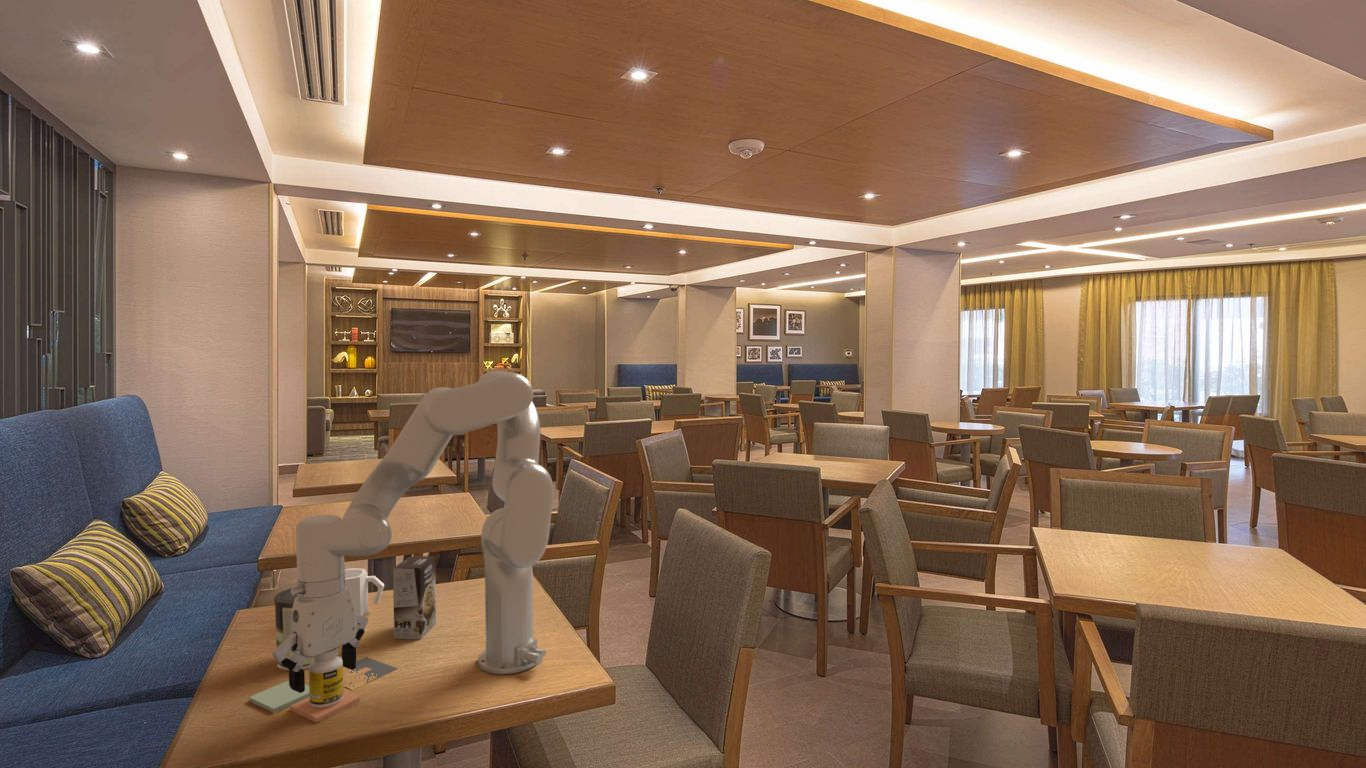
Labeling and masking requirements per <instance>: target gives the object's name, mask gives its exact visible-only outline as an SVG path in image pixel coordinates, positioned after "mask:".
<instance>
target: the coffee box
mask: <svg viewBox="0 0 1366 768" xmlns="http://www.w3.org/2000/svg"><path fill="white" fill-rule="evenodd" d="M392 572H393V573H392V575H393V576H392V579H393V580H392V581H393V582H392V583H393V585H392V587H393V589H392V590H393V593H392V594H393V598H392V599H393V639H394V640H395V639H396V640H398V639H399V640H421V639H422V638H424V636H426V634H427V633H429V631H431V630H432V628H434V626H435V625H436V624H437V600H436V599H437V594H436V556H435V555H433V556H431V555H427V556H425V555H424V556H423V555H422V556H420V555H419V556H408V557H407V558H406V559H404V560H403V561H401V562H399V563H398V564H397V565H396V566H394V567H393V568H392Z"/></svg>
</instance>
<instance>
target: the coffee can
mask: <svg viewBox="0 0 1366 768" xmlns="http://www.w3.org/2000/svg"><path fill="white" fill-rule="evenodd" d="M294 587H295V586H293V587H290V588H287V589H285V590H282V591H281V592H278V593H277V594H276V595H275V596H274V599H273V600H274V601H273V602H274V609H275V610H274V611H275V636H276V639H275V641H276V648H277V647H278V646H279V645H280V644H281V643H282V642H283V641H285V640H286V639H287V638H288V637H289V636H290V626H291V615H292V609H293V603H294V599H295V598H296V597H298V595H294V596H293V595H292V594H291V589H292V588H294ZM292 653H293V652H292V651H291V648H290V649H289V650H288V651H287V652H286V656H287V658H288V659H289V657H290V656H291V654H292ZM299 656H300V655H299ZM298 658H299V657H298ZM313 660H315V659H314V657H312V658H307V659H306V661H305V662H304V664H303V666H302V667H301V669H303V670H304V671H305V670H309V666H310V663H311V662H312V661H313ZM296 661H297V660H296ZM295 663H296V662H295ZM276 666H277V668H278V669H280V670H283V671H288V672H289V669H287V668H286V667H284V666H282V665H280V664H279V663H278V661H277V660H276Z"/></svg>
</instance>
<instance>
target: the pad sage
mask: <svg viewBox="0 0 1366 768" xmlns="http://www.w3.org/2000/svg"><path fill="white" fill-rule="evenodd" d="M309 697H310V694H309V684H306V683H305V690H304V692H302V693H299V692H297V691H294V690H292V689H291V688H290V686H289V679H288V680H287V681H284V682H281V683H279V684H277V685H275V686H271V687H269V688H267V689H265V690H263V691H260V692H258V693H255V694H254V695H251V696H249V697H248V702H250V703H252V704H254V705H256V706H258V707H260V708H262V709H264V710H266V711H268V712H271V713H273V714H276V713H278V712H280V711H282V710H285V709H287V708H290V706H291V705H293V704H296V703H298V702H300V701H302V700H304V699H307V698H309Z"/></svg>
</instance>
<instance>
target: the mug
mask: <svg viewBox="0 0 1366 768" xmlns="http://www.w3.org/2000/svg"><path fill="white" fill-rule="evenodd" d="M368 583H373V584H374V586H376V587H377V592H376V594H375V597H374V600H373V602H372V603H373V604H375V605H378V604H379V602H380V599H381V597H382V593H383V591H384V588H385V583H384V582H382V581H381V580H380V579H379V578H378V577H376V575H368V571H367V570H366V569H365V568H357V567H356V568H354V567H351V568H345V586H347V587H349V588H350V591H351V595H352V598H353V603H354V609H355V615H359V616H364V615H366V614H368V613H369V594H368V593H369V591H368V589H369V586H368Z"/></svg>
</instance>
